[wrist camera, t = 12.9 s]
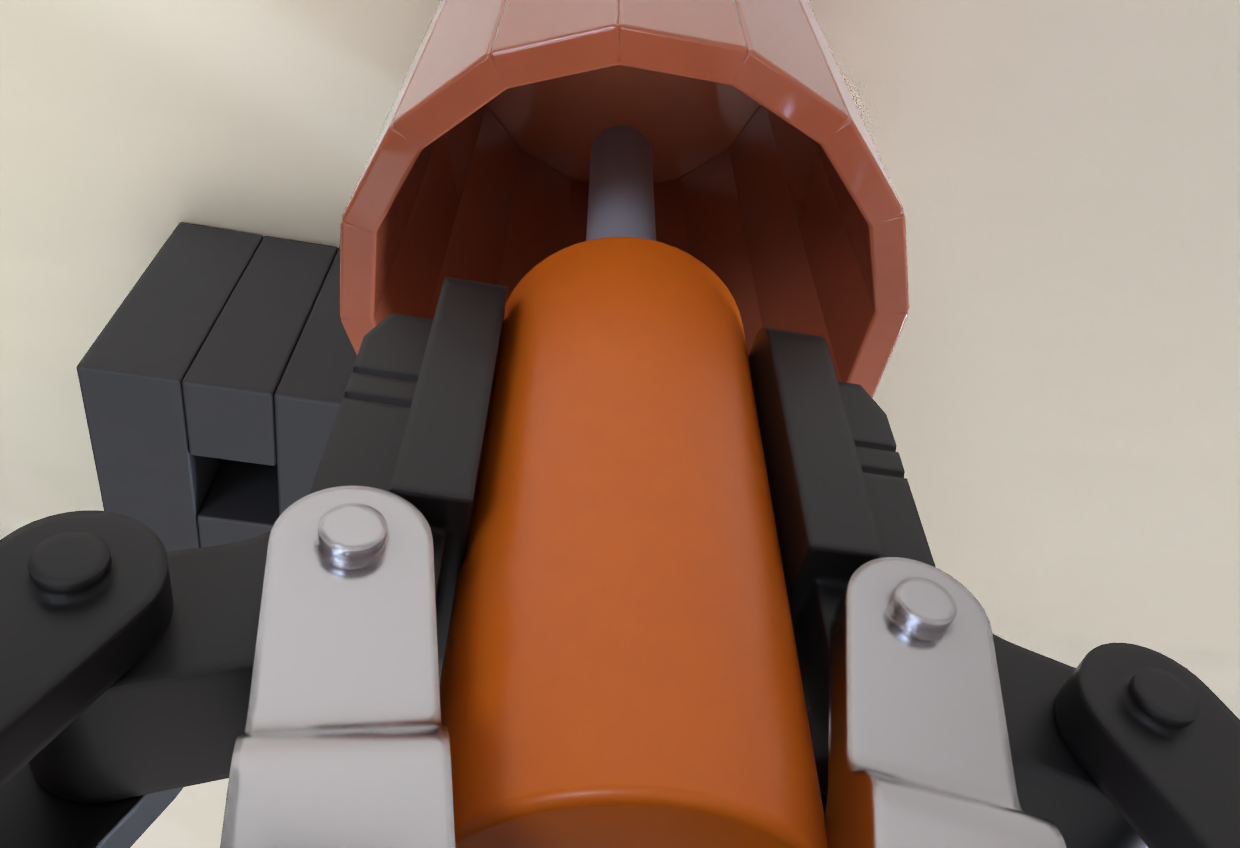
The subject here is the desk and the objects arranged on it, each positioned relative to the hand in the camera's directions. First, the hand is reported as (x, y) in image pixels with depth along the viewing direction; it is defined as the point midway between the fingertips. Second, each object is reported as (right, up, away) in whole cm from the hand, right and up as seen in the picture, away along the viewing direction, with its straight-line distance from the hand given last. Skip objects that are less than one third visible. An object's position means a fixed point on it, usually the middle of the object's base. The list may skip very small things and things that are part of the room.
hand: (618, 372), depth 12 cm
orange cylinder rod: (0, +4, +5) cm, 6 cm away
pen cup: (0, +8, +10) cm, 12 cm away
